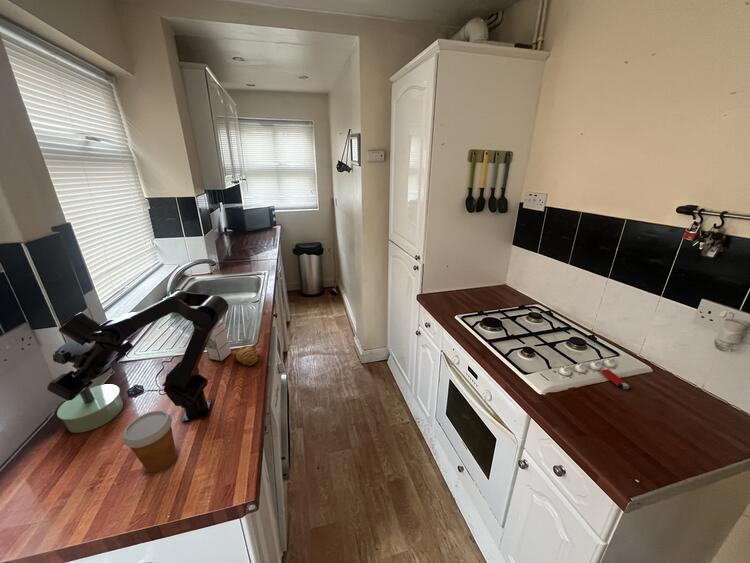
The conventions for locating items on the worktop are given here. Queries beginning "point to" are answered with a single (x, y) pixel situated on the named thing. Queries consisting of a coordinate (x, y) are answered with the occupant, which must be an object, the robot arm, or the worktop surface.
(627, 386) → the lighter
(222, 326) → the syrup box
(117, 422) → the worktop surface
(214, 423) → the worktop surface
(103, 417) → the pot
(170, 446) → the disposable coffee cup
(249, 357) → the pastry
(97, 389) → the lid
